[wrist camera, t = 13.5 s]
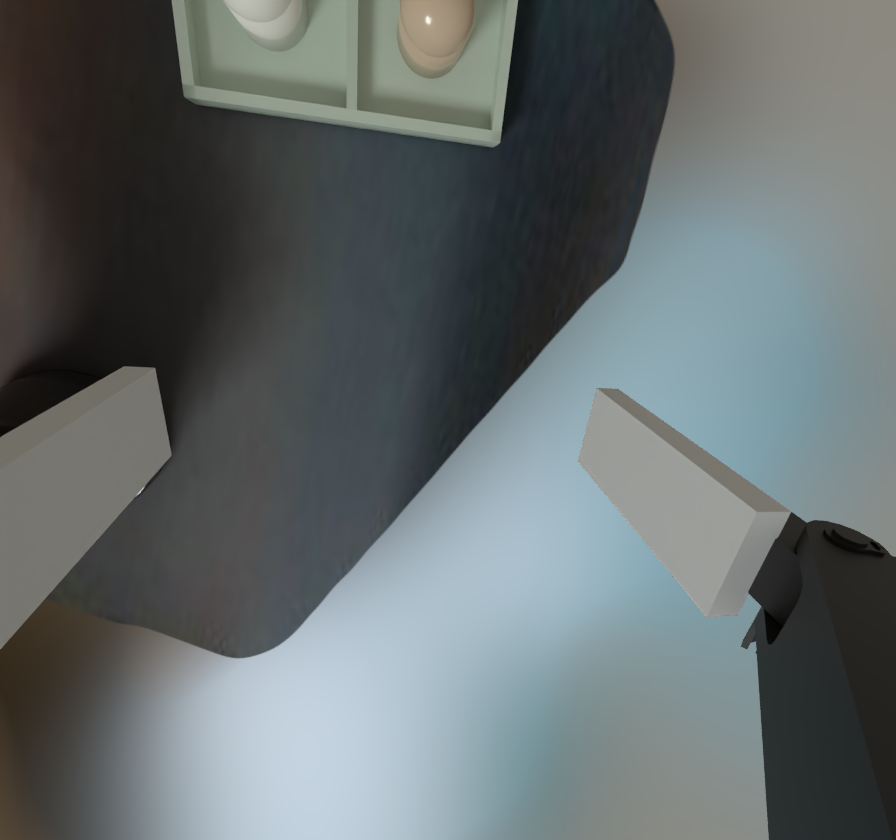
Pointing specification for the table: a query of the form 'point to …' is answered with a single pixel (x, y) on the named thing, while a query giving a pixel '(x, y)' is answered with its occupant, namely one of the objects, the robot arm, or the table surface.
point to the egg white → (271, 21)
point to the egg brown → (434, 34)
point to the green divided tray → (349, 70)
